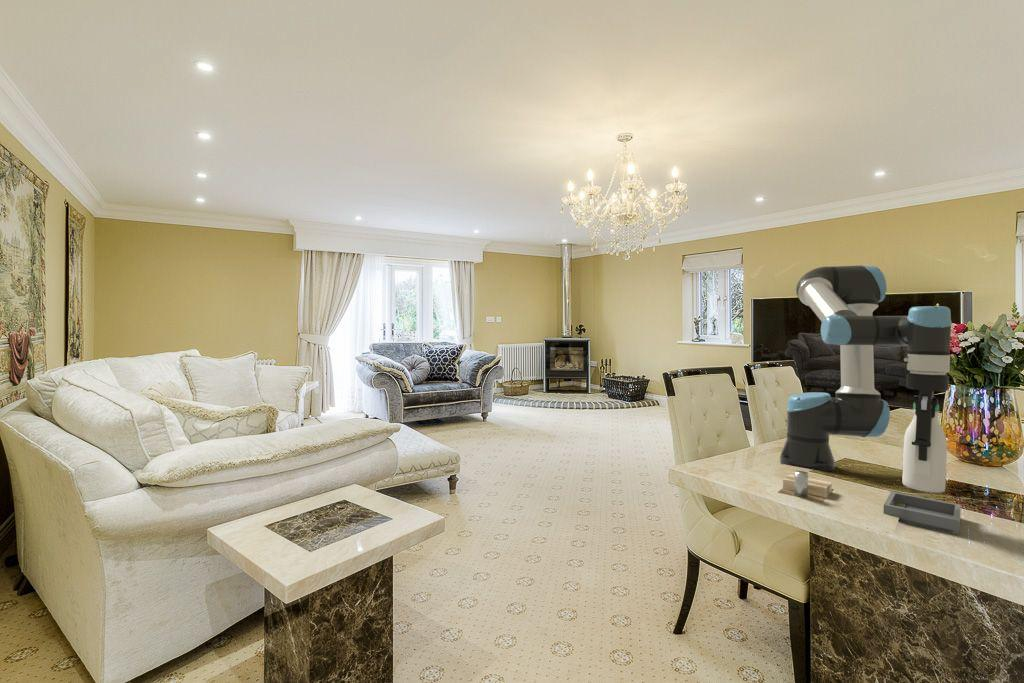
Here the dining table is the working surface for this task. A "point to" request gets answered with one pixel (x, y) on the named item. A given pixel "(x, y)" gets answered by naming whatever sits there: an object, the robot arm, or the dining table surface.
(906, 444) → the milk bottle
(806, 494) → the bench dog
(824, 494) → the light wooden block
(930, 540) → the dining table surface
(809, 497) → the board
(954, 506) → the tray
